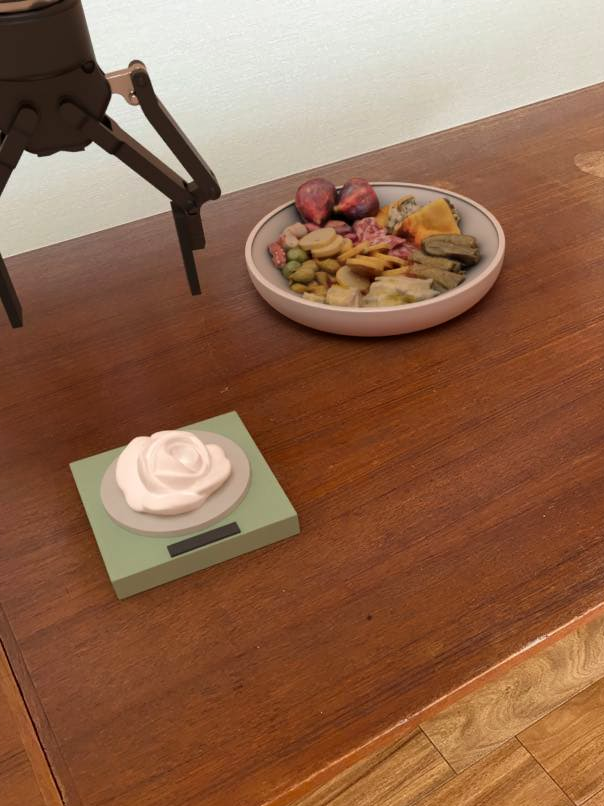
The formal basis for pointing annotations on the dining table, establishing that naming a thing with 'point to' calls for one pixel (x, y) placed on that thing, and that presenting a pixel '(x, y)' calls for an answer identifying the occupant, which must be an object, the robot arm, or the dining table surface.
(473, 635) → the dining table surface
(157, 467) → the rose
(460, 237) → the bowl
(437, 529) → the dining table surface
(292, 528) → the scale
